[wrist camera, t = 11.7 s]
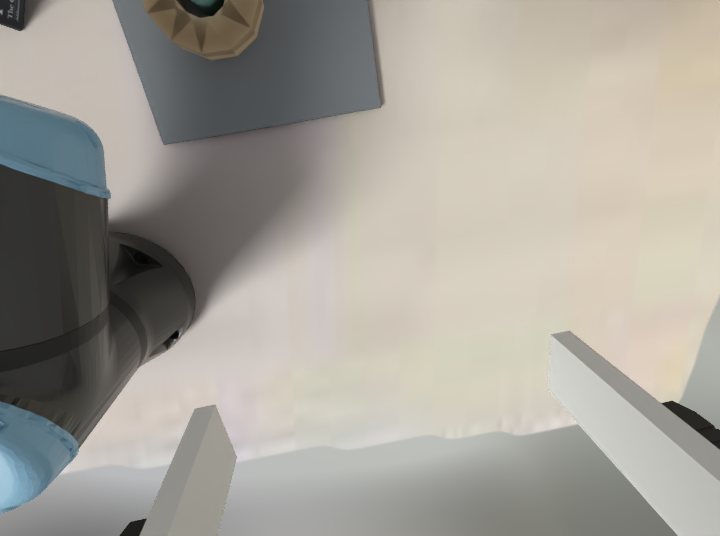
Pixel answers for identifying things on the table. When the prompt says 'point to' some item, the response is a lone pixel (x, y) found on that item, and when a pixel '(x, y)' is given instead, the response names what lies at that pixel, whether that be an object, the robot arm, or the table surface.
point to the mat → (257, 70)
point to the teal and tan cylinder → (209, 6)
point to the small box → (12, 13)
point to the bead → (209, 26)
